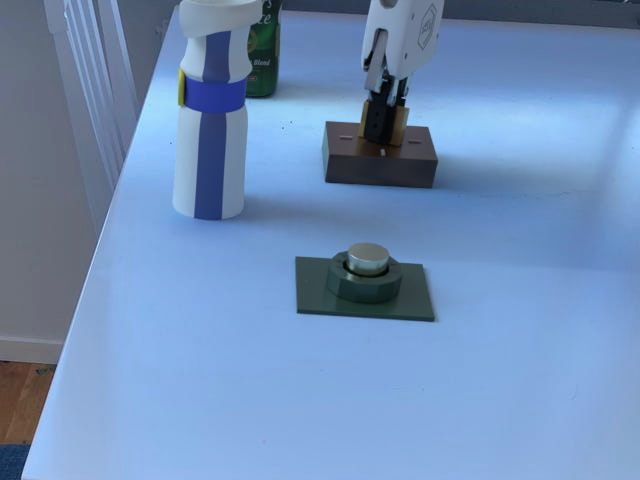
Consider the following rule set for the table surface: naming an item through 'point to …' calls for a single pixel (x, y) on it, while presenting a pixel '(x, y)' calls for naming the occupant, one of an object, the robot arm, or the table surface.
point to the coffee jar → (264, 50)
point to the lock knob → (398, 124)
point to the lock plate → (378, 157)
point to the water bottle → (213, 107)
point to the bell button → (367, 260)
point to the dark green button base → (361, 290)
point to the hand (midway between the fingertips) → (380, 136)
